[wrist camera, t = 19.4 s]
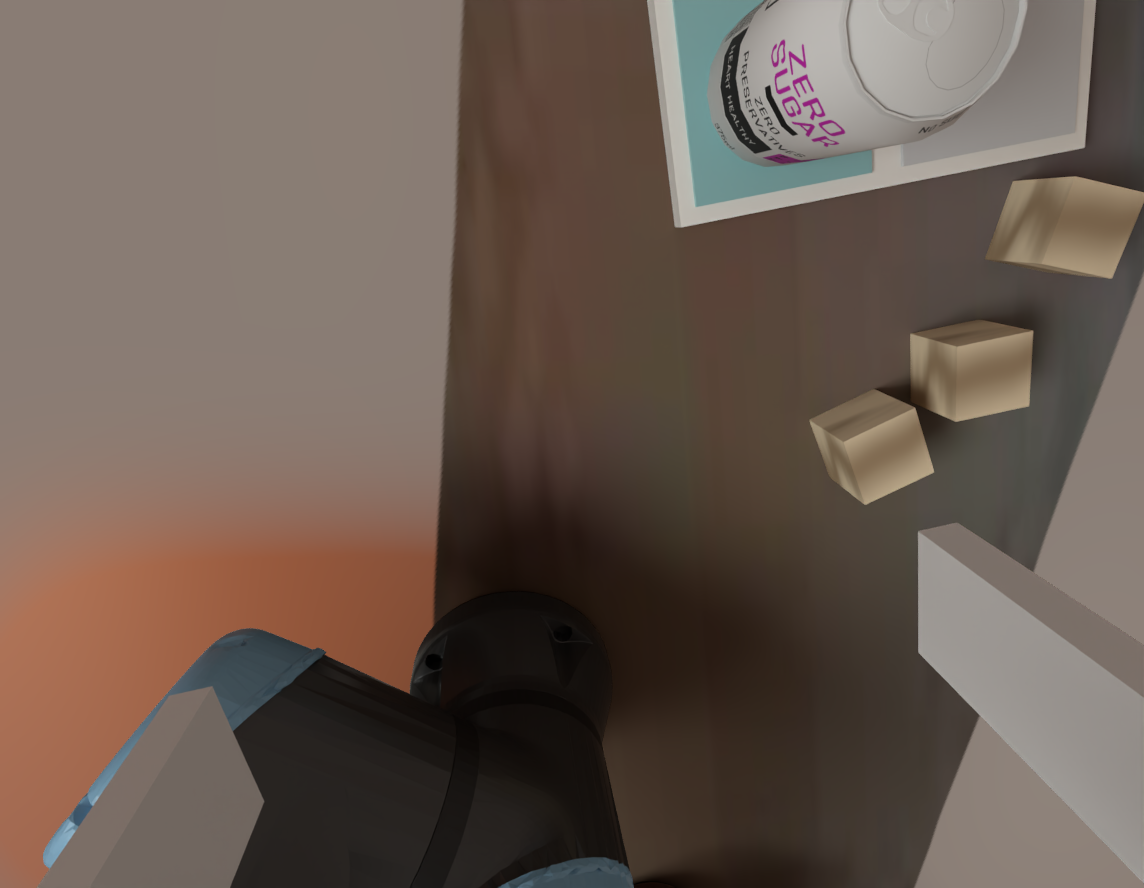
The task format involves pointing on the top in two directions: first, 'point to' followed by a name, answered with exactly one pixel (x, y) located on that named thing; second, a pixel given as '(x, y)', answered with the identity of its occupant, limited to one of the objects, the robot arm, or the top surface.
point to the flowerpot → (652, 885)
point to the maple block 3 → (1065, 226)
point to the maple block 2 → (971, 369)
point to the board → (976, 140)
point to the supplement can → (854, 73)
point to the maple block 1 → (872, 445)
